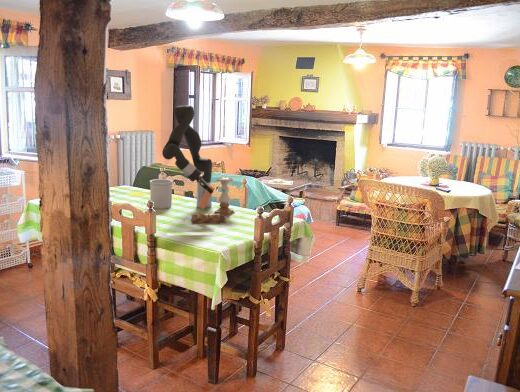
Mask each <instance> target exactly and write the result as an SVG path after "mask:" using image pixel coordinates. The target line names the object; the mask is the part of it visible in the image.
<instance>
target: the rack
mask: <svg viewBox="0 0 520 392" xmlns="http://www.w3.org/2000/svg"><path fill="white" fill-rule="evenodd" d="M197 214H198V213H197ZM197 214H191V218H190V221H191V225H196V224H197V225H200V224H201V225H203V224H205V225H206V224H209V225H210V224H211V225H212V224H215V225H216V224H227V222H226V217H225V216H224V214H220V218H209V214H210V213H207V214H208V218H197Z"/></svg>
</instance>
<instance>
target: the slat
mask: <svg viewBox="0 0 520 392" xmlns="http://www.w3.org/2000/svg"><path fill="white" fill-rule="evenodd" d="M209 187H210V188H211V189H212V190H213V192H212V193H211V194H210V193H209V192H208V191H206V193H205V195H204V196H203V198H202V200H201V202H200V204H199V207H201V209H203V210H204V209H206V208H205V206H206V204H207V202H208V200H209V199H210V197H211V195H212V194H213V193H214V192H215V189H216V188H215V187H214V186H210V185H209ZM212 196H213V195H212ZM211 198H212V197H211ZM199 207H198V208H199Z"/></svg>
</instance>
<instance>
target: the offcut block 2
mask: <svg viewBox="0 0 520 392" xmlns="http://www.w3.org/2000/svg"><path fill="white" fill-rule="evenodd" d="M208 214H209V218H220V214H214V213H208Z"/></svg>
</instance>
